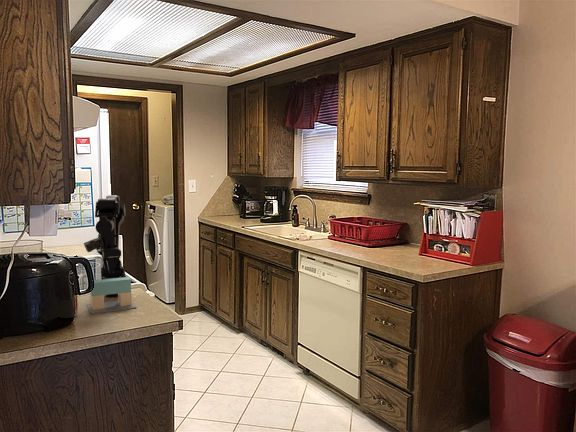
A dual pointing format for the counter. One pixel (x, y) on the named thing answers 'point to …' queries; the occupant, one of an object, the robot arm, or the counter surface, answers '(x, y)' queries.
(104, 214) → the robot arm
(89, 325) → the counter surface
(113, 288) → the teal beam
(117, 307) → the bridge base
